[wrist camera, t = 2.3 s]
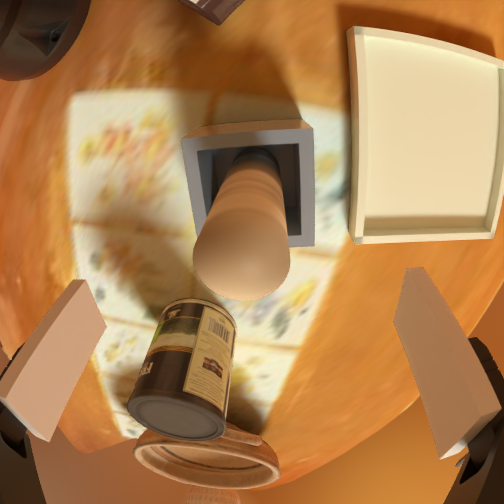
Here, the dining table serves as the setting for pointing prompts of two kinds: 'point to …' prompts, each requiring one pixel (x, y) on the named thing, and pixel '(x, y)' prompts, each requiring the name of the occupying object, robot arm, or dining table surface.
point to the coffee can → (187, 373)
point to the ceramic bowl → (211, 459)
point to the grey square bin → (265, 137)
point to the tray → (423, 139)
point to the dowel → (245, 231)
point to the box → (213, 8)
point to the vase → (212, 496)
